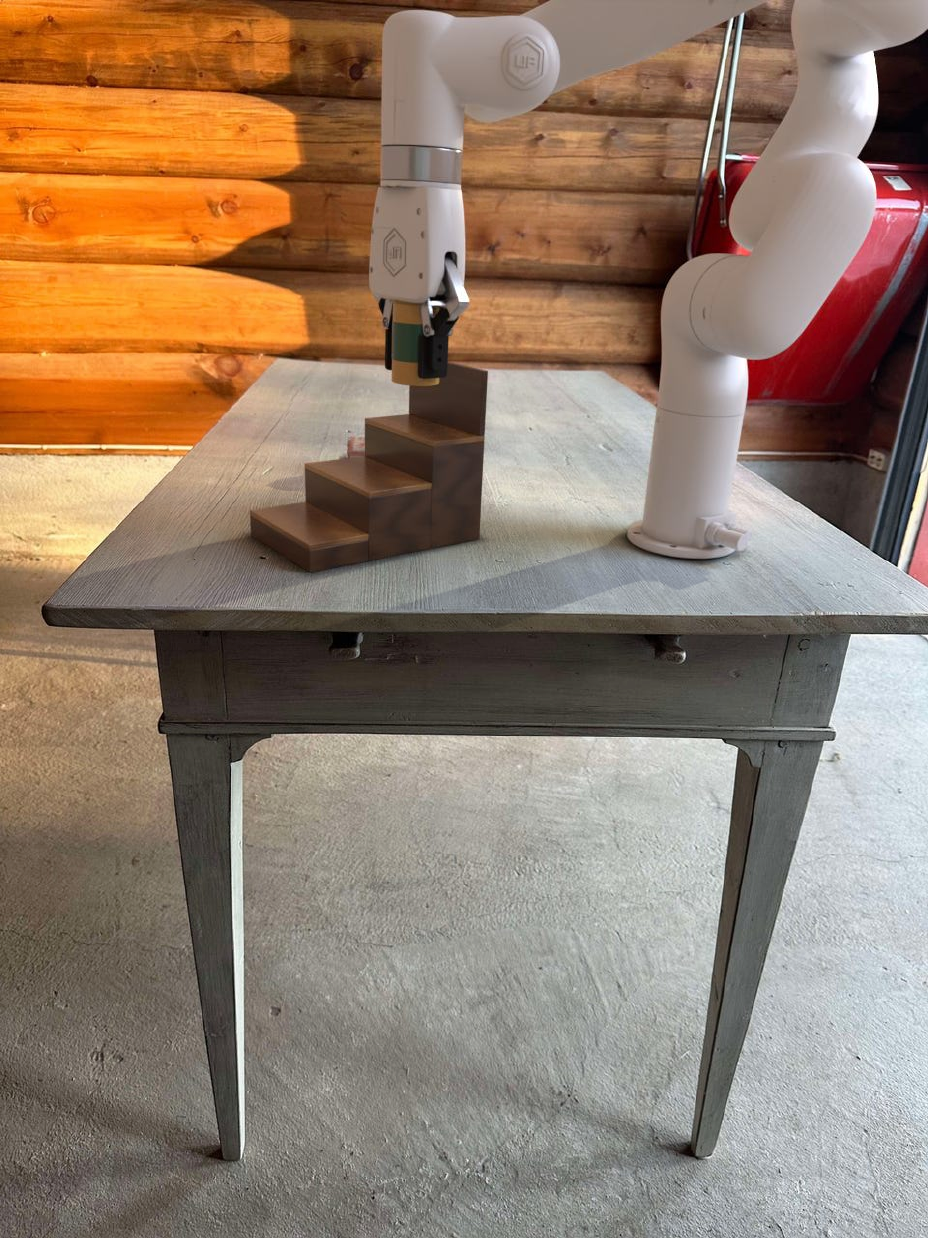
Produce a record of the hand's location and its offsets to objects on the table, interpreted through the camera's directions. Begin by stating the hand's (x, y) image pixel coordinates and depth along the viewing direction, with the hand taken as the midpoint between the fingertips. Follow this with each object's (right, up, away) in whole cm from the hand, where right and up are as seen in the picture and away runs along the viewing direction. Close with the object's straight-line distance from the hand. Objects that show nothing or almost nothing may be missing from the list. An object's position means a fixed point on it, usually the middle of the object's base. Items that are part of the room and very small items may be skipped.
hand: (415, 371), depth 91 cm
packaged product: (-4, -4, +40) cm, 40 cm away
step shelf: (-6, -15, +13) cm, 21 cm away
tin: (0, -1, 0) cm, 1 cm away
